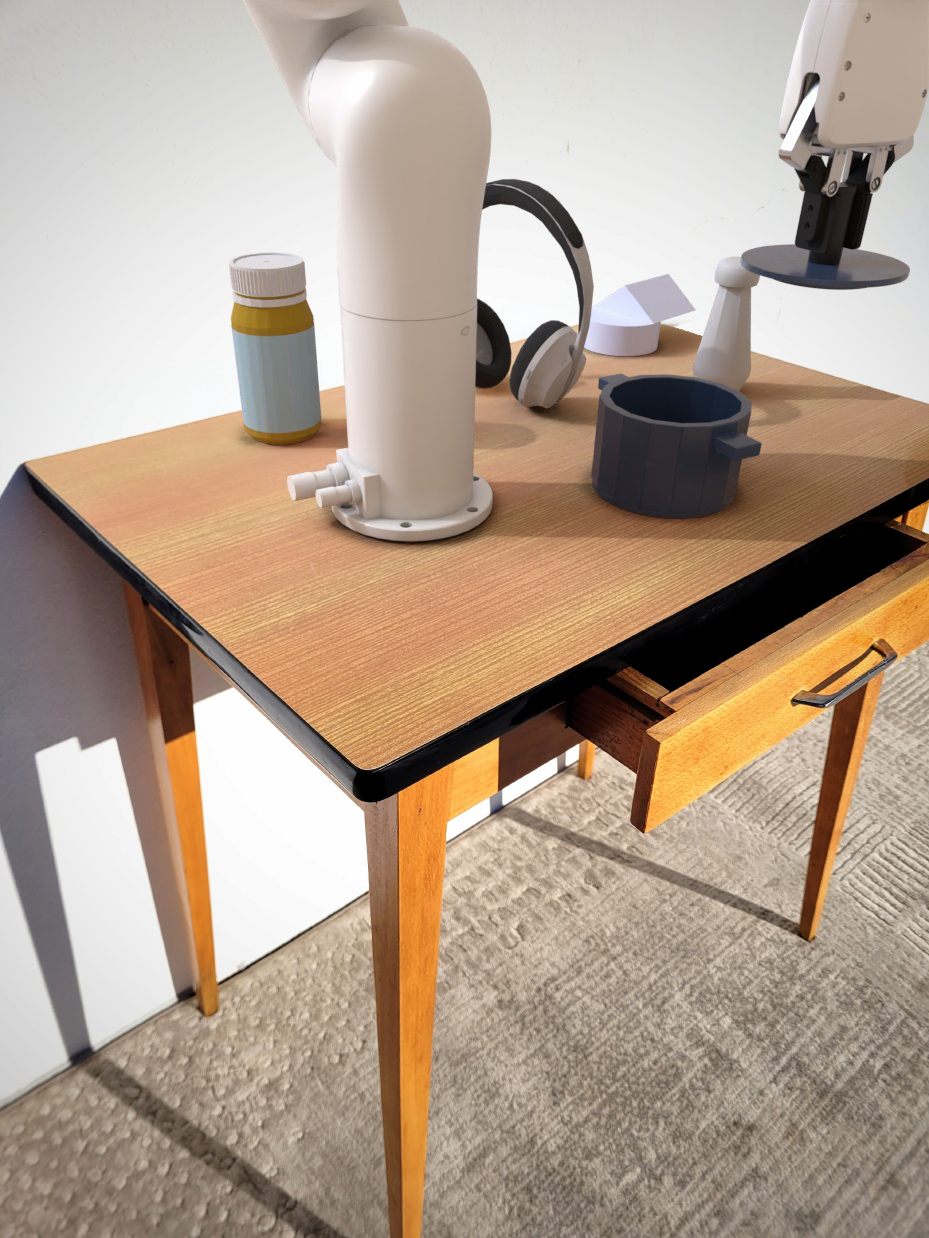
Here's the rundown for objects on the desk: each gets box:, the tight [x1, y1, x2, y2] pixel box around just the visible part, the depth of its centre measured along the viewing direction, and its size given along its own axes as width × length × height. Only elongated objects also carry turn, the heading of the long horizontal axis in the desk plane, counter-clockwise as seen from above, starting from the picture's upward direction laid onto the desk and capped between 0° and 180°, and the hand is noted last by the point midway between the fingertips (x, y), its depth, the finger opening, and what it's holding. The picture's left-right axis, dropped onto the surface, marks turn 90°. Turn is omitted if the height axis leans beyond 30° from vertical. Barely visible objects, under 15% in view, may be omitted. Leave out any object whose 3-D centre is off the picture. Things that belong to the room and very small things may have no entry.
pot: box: [590, 373, 762, 519], centre depth 74 cm, size 12×17×8 cm
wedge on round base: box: [584, 273, 697, 357], centre depth 108 cm, size 9×7×13 cm
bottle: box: [228, 251, 322, 445], centre depth 80 cm, size 7×7×15 cm
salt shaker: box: [692, 256, 761, 392], centre depth 92 cm, size 6×6×13 cm
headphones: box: [475, 178, 595, 409], centre depth 88 cm, size 19×8×20 cm, turn 45°
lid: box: [740, 181, 911, 291], centre depth 71 cm, size 13×13×7 cm
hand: (827, 245), depth 71 cm, fingers closed on lid, 2 cm apart
